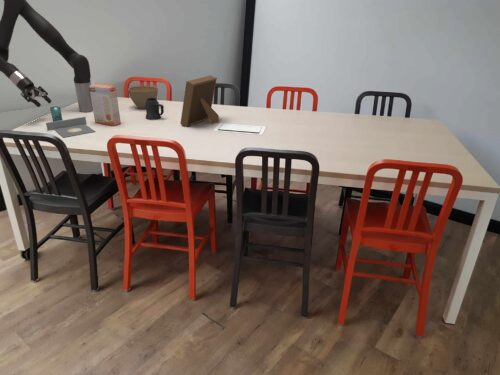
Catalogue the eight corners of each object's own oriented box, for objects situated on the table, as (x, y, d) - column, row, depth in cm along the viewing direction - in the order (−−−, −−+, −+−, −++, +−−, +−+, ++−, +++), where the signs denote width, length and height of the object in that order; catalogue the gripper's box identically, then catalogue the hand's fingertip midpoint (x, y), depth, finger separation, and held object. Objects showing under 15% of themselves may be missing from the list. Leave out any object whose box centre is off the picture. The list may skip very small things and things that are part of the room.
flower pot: (155, 111, 234) (153, 91, 229) (126, 110, 235) (124, 91, 229) (162, 104, 251) (160, 85, 245) (135, 103, 251) (133, 85, 245)
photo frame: (180, 125, 209) (178, 80, 198) (203, 116, 226) (202, 74, 215) (201, 130, 202) (200, 83, 191) (224, 121, 219) (224, 77, 208)
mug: (142, 118, 220) (140, 99, 215) (152, 114, 227) (150, 96, 222) (158, 121, 215) (157, 102, 210) (168, 117, 223) (166, 98, 218)
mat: (85, 124, 207) (85, 123, 207) (95, 131, 197) (95, 131, 196) (54, 129, 198) (54, 129, 198) (63, 137, 187) (63, 137, 187)
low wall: (86, 123, 209) (84, 116, 207) (86, 124, 208) (85, 117, 207) (47, 130, 197) (45, 122, 196) (47, 130, 197) (46, 123, 195)
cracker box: (121, 123, 210) (116, 86, 201) (113, 126, 205) (108, 88, 196) (102, 120, 215) (96, 83, 206) (94, 123, 211) (88, 85, 201)
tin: (61, 121, 212) (58, 105, 208) (64, 123, 208) (61, 107, 204) (52, 123, 209) (48, 107, 205) (54, 125, 205) (51, 109, 201)
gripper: (14, 79, 194) (39, 102, 197) (34, 74, 206) (57, 96, 209) (8, 88, 197) (33, 111, 200) (28, 83, 210) (50, 105, 213)
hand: (45, 104), depth 205 cm, fingers open, 8 cm apart
